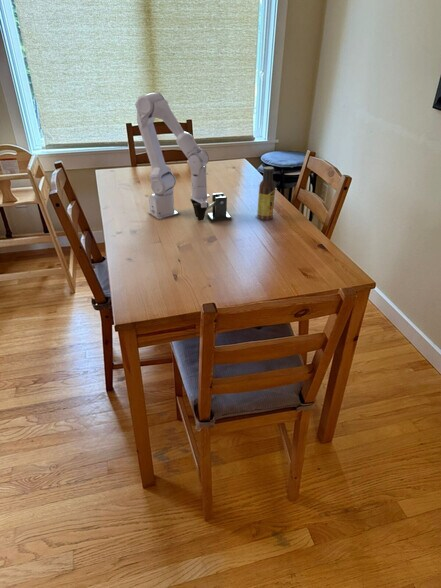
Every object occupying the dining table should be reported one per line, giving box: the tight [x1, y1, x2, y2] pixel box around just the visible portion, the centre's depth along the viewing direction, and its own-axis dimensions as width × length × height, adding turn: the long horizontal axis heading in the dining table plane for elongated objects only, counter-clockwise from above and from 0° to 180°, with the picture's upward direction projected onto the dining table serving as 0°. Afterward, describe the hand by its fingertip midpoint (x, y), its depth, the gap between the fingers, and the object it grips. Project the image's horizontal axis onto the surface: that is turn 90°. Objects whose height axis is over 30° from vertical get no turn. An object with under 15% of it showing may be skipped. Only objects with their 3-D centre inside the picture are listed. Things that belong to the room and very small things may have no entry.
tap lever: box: [206, 195, 222, 212], centre depth 158 cm, size 12×3×3 cm
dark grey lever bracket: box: [207, 192, 232, 223], centre depth 160 cm, size 8×6×9 cm
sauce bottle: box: [257, 166, 276, 221], centre depth 157 cm, size 7×6×20 cm
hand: (199, 218), depth 160 cm, fingers closed on tap lever, 3 cm apart
